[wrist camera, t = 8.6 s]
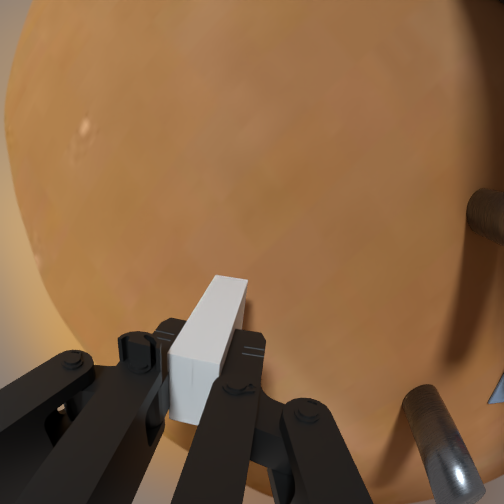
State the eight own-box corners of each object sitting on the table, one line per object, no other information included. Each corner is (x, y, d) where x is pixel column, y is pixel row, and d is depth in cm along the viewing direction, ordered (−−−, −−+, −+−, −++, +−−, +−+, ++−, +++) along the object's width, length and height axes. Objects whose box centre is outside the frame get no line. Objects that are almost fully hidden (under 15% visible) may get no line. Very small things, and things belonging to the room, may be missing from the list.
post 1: (411, 384, 17) (456, 494, 9) (442, 384, 17) (494, 483, 8) (397, 413, 18) (430, 520, 9) (428, 412, 18) (467, 510, 9)
